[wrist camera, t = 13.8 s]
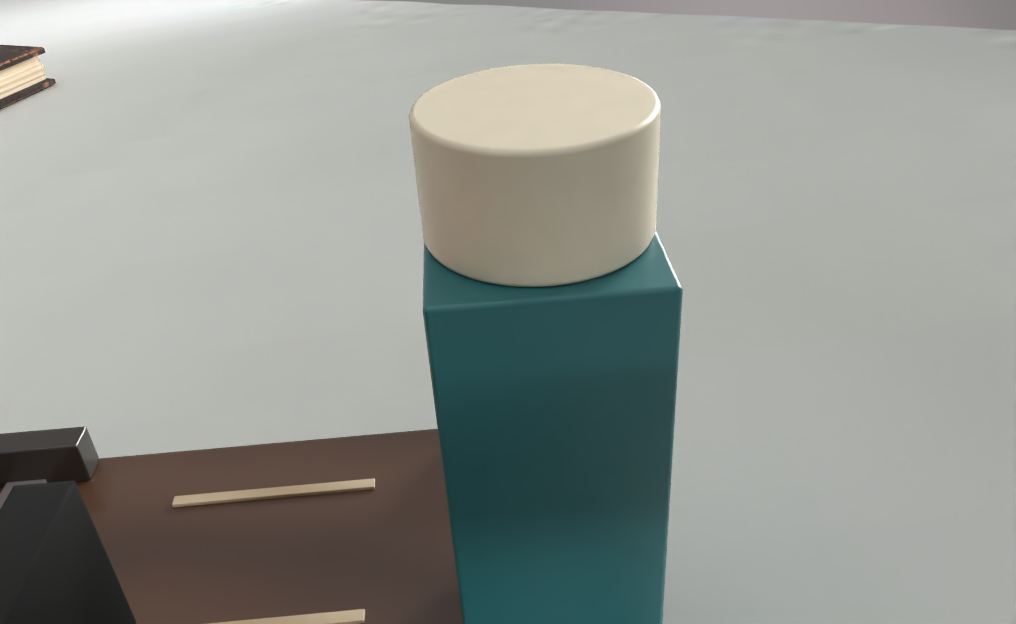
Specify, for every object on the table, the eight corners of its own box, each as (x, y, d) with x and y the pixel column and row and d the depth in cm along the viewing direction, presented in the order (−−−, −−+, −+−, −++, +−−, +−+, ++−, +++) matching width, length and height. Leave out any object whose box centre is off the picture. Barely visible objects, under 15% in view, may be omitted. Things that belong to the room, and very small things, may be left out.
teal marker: (658, 694, 17) (692, 146, 11) (473, 712, 17) (403, 170, 11) (621, 535, 20) (631, 49, 14) (467, 549, 20) (411, 66, 14)
